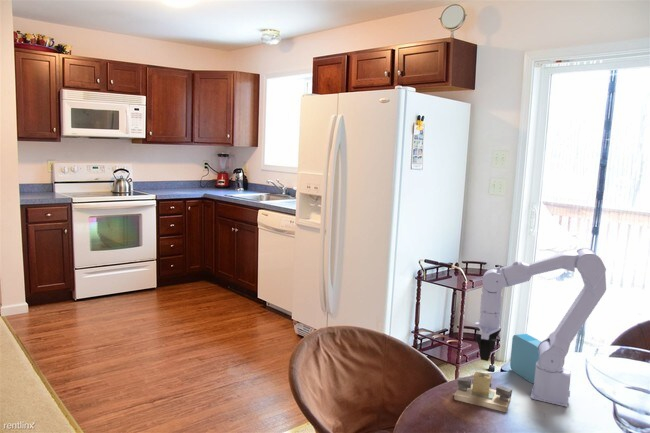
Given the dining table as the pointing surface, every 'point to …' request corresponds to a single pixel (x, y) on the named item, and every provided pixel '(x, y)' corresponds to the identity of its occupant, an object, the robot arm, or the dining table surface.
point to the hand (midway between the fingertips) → (486, 355)
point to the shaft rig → (495, 400)
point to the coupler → (481, 383)
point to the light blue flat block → (524, 356)
